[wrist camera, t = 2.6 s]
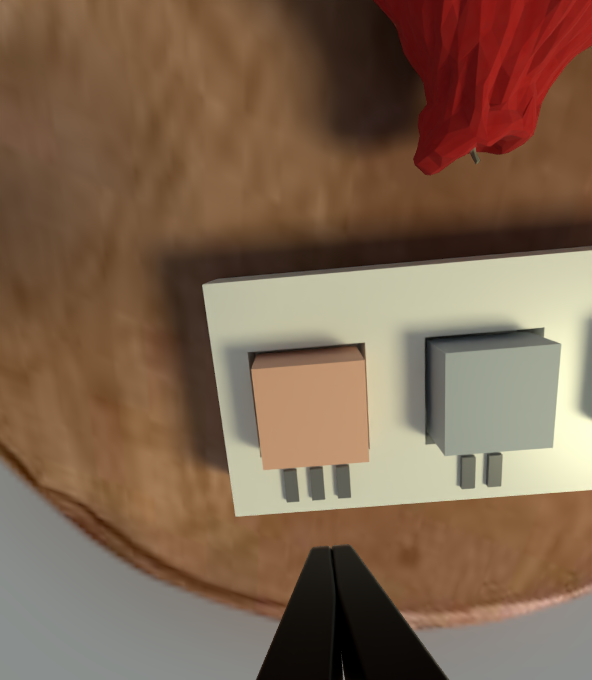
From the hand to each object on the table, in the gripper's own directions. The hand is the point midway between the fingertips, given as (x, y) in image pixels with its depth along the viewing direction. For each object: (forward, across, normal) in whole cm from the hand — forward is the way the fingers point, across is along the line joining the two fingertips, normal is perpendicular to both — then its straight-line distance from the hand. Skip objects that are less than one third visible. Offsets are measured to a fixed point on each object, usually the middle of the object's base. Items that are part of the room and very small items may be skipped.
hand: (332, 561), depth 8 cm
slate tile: (+9, -7, 0) cm, 12 cm away
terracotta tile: (+9, 0, 0) cm, 9 cm away
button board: (+12, -7, 0) cm, 14 cm away
